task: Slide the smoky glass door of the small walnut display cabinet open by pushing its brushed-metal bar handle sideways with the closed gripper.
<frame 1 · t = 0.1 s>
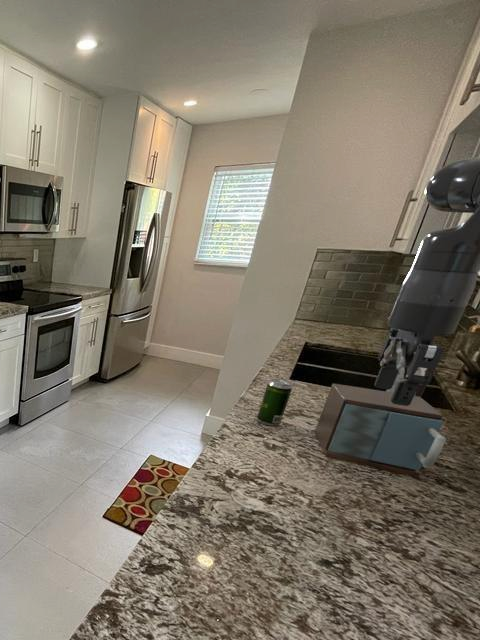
hand: (390, 395, 70), 23 cm above the table, tool pointing down, fingers open, 8 cm apart
display cabinet: (360, 451, 99), on the table
glass door: (409, 446, 86), point 7 cm above the table, slide at 0.0 cm
coffee box: (387, 429, 111), on the table
beer can: (267, 422, 113), on the table
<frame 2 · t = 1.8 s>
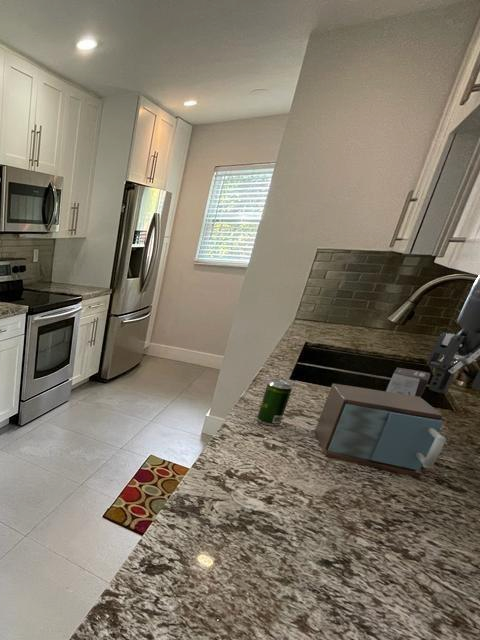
hand: (458, 390, 73), 23 cm above the table, tool pointing down, fingers open, 8 cm apart
nothing on the table moved.
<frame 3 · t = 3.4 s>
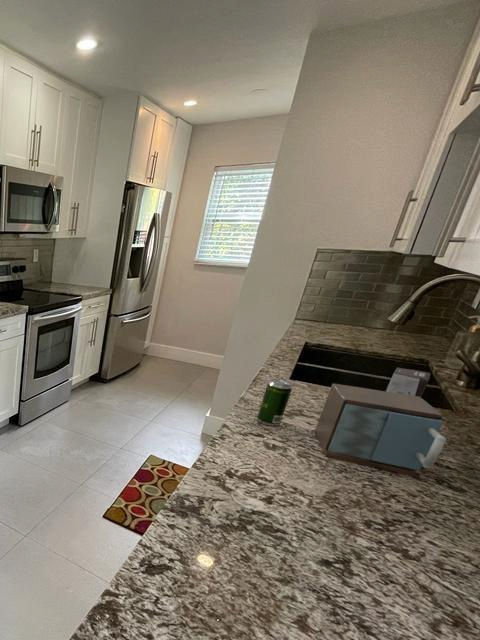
nothing on the table moved.
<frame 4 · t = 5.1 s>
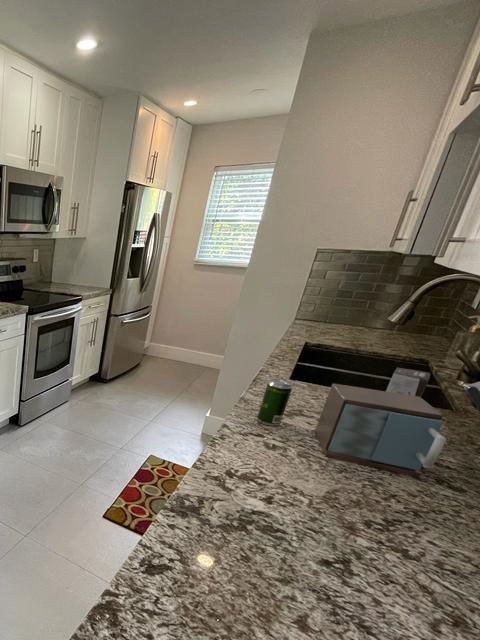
nothing on the table moved.
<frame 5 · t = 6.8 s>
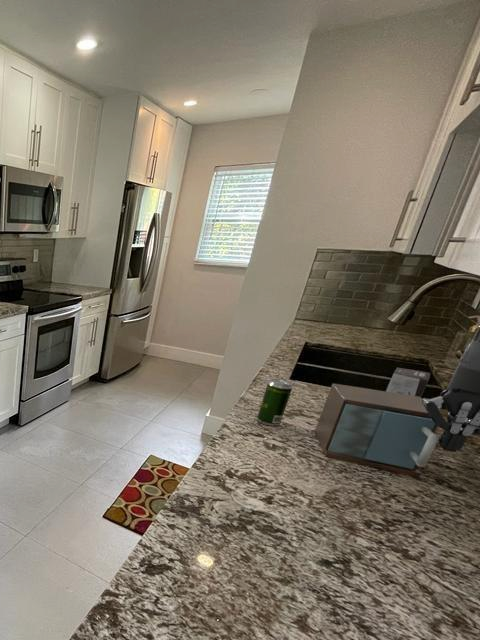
hand: (447, 449, 81), 9 cm above the table, tool pointing down, fingers closed
glass door: (403, 445, 87), point 7 cm above the table, slide at 1.0 cm, touching gripper
everything else where it was.
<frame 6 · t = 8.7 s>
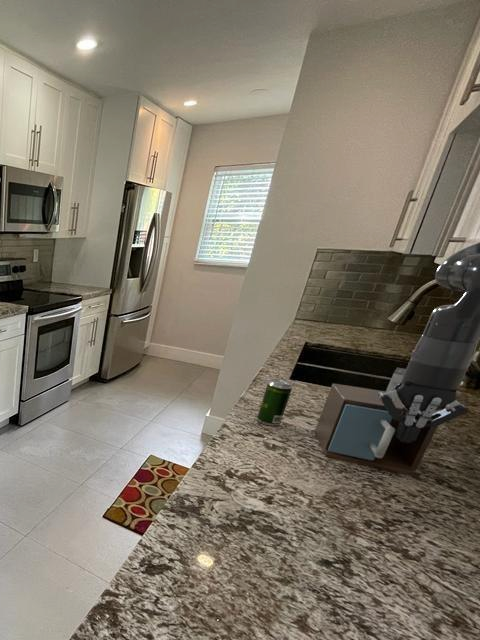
hand: (403, 440, 84), 9 cm above the table, tool pointing down, fingers closed
glass door: (363, 437, 90), point 7 cm above the table, slide at 7.5 cm, touching gripper
everything else where it was.
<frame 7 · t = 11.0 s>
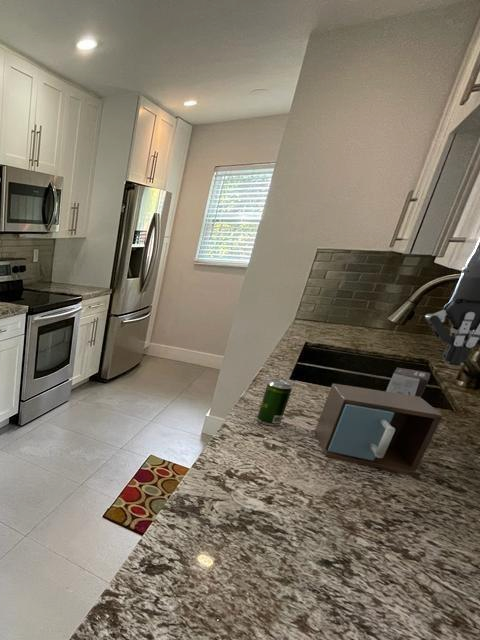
hand: (451, 363, 82), 25 cm above the table, tool pointing down, fingers closed
glass door: (363, 437, 90), point 7 cm above the table, slide at 7.5 cm
everything else where it was.
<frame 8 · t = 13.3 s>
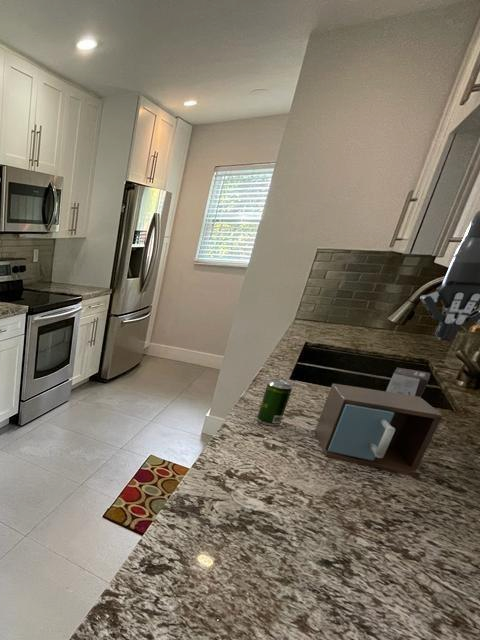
hand: (443, 339, 93), 27 cm above the table, tool pointing down, fingers closed
nothing on the table moved.
at the end: glass door slide at 7.5 cm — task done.
